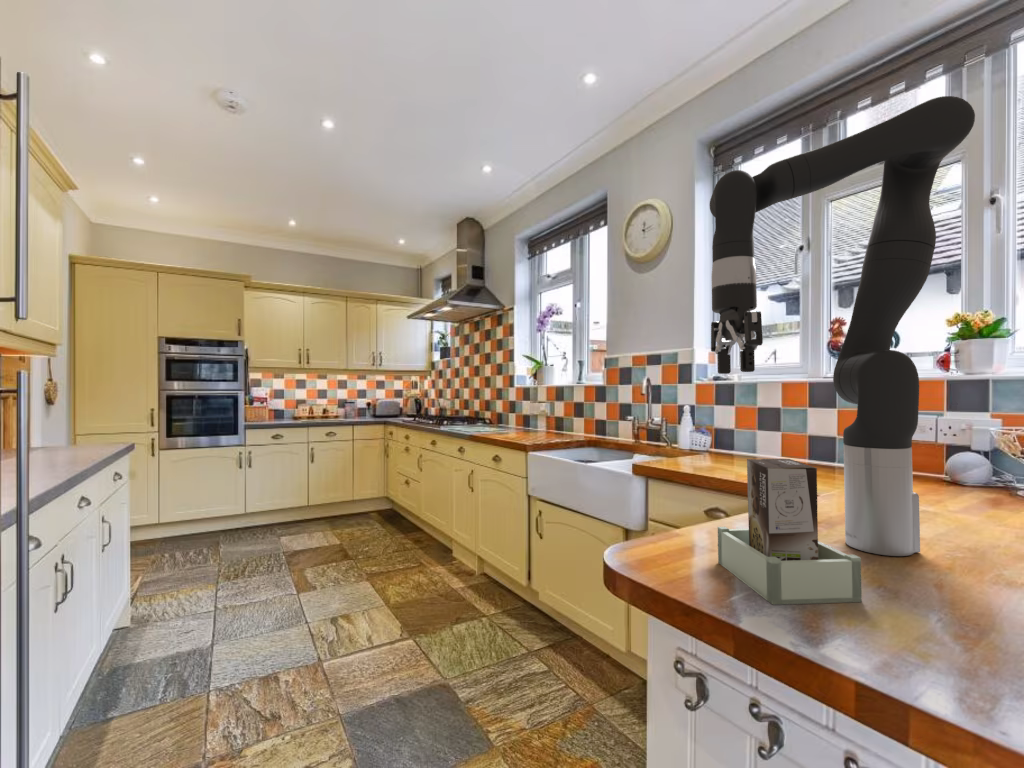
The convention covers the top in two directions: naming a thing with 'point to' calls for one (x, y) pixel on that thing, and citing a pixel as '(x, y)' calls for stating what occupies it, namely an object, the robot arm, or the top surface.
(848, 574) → the crate
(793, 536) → the coffee box
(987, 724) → the top surface
